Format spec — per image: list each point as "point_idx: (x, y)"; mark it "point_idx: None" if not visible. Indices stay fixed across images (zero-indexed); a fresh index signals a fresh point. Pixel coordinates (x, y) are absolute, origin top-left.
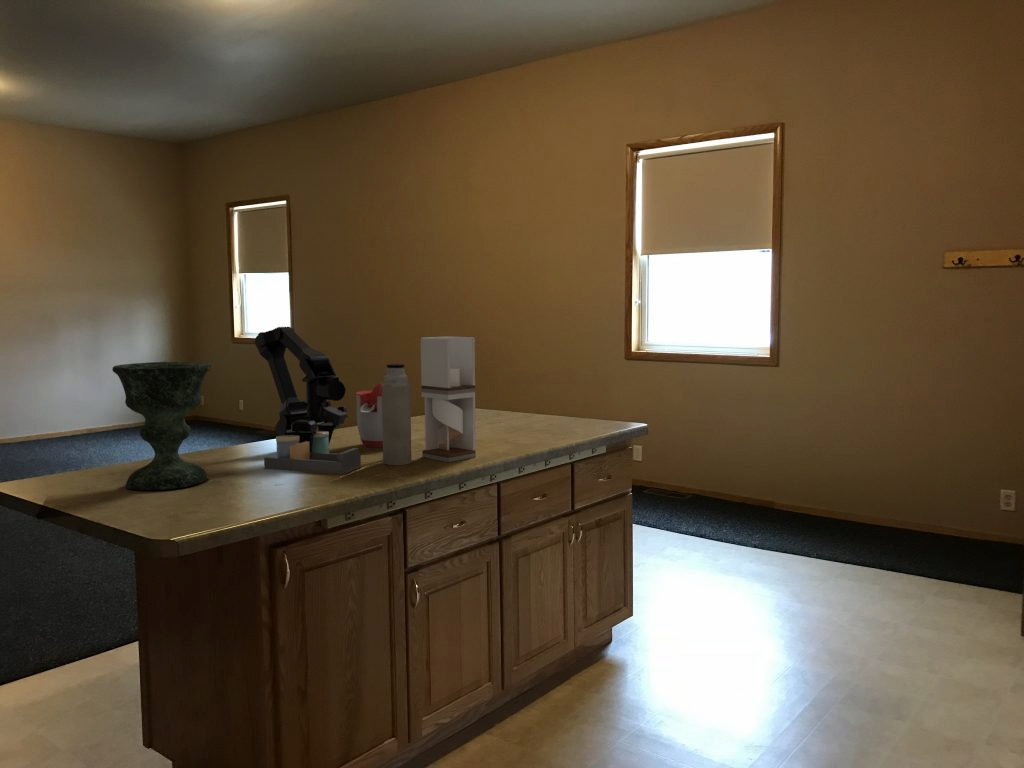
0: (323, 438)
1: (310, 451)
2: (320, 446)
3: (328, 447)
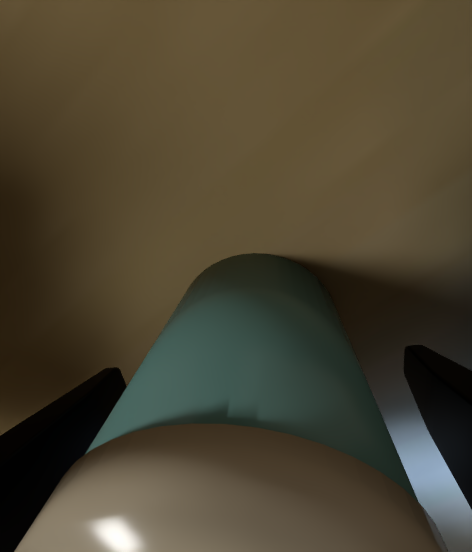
0: (305, 415)
1: (453, 364)
2: (336, 346)
3: (192, 311)
